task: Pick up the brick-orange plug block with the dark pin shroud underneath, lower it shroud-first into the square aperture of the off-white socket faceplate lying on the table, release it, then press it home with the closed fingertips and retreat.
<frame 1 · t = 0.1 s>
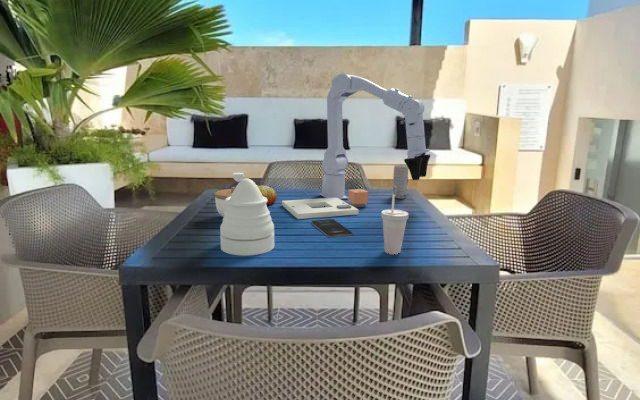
hand: (419, 178, 142), 11 cm above the table, tool pointing down, fingers open, 7 cm apart
honey pot: (247, 247, 105), on the table
socket plate: (318, 209, 141), on the table
lidded jar: (233, 218, 130), on the table
smoothie: (392, 252, 103), on the table
energy drink: (399, 197, 162), on the table
fruit: (261, 204, 148), on the table
smartphone: (331, 230, 121), on the table
plug: (357, 205, 148), on the table
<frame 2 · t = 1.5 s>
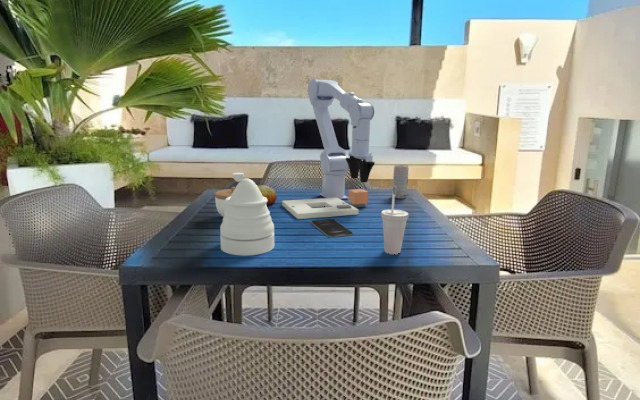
hand: (359, 180, 146), 9 cm above the table, tool pointing down, fingers open, 7 cm apart
nothing on the table moved.
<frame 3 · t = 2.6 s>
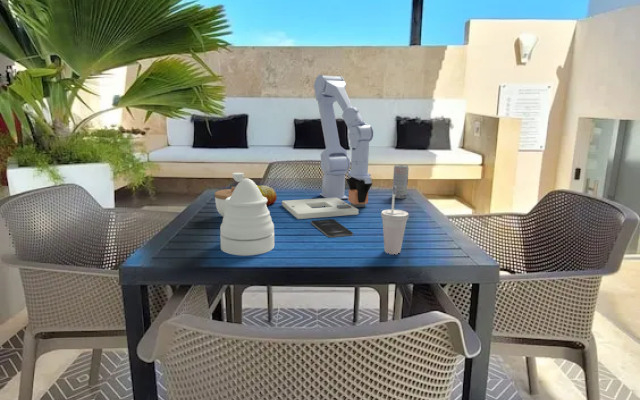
hand: (358, 200, 148), 2 cm above the table, tool pointing down, fingers closed on plug, 5 cm apart
plug: (357, 205, 148), on the table, touching gripper
everything else where it was.
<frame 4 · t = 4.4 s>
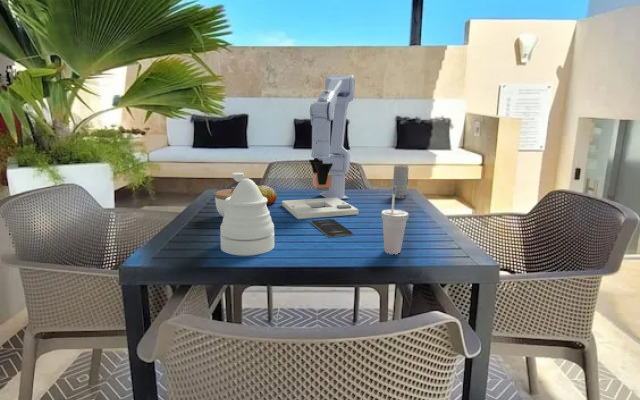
hand: (320, 182, 139), 9 cm above the table, tool pointing down, fingers closed on plug, 5 cm apart
plug: (321, 189, 140), point 7 cm above the table, touching gripper
everything else where it was.
when the fingers open (2 cm above the table, at t = 6.3 s): plug stays where it is, resting in socket plate.
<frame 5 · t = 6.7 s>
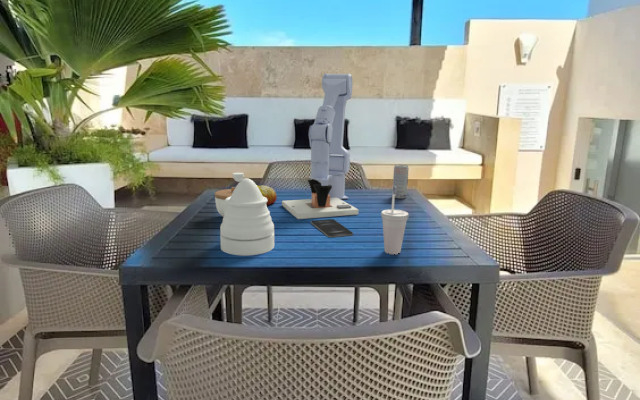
hand: (319, 203, 140), 2 cm above the table, tool pointing down, fingers open, 7 cm apart
plug: (320, 209, 141), resting in socket plate
everything else where it was.
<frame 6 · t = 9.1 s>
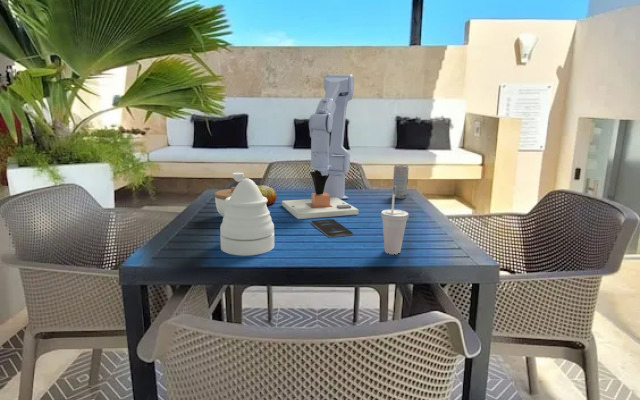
hand: (319, 193, 140), 5 cm above the table, tool pointing down, fingers closed
plug: (320, 209, 141), resting in socket plate, touching gripper
everything else where it was.
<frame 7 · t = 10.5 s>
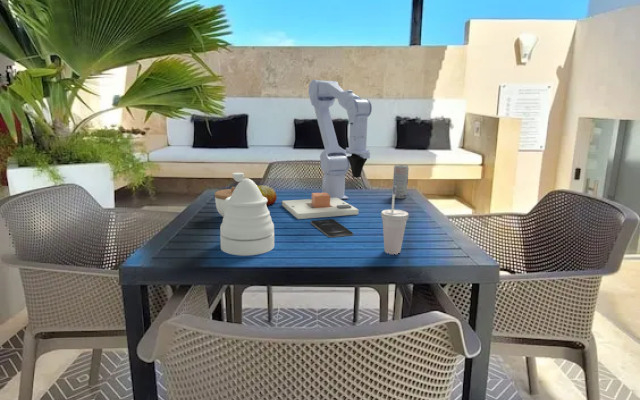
hand: (356, 177, 145), 10 cm above the table, tool pointing down, fingers closed
plug: (320, 209, 141), resting in socket plate
everything else where it was.
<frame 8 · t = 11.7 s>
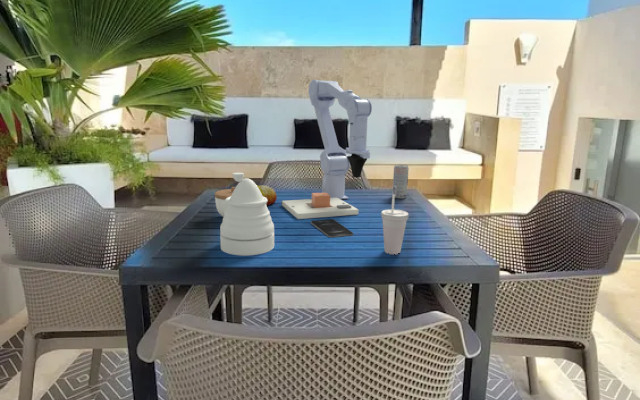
hand: (356, 177, 145), 10 cm above the table, tool pointing down, fingers closed
nothing on the table moved.
at the end: plug 0.5 cm off-centre on the socket plate, point 0.0 cm above the socket plate's base; plug tilted 0°; the gripper is holding nothing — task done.
